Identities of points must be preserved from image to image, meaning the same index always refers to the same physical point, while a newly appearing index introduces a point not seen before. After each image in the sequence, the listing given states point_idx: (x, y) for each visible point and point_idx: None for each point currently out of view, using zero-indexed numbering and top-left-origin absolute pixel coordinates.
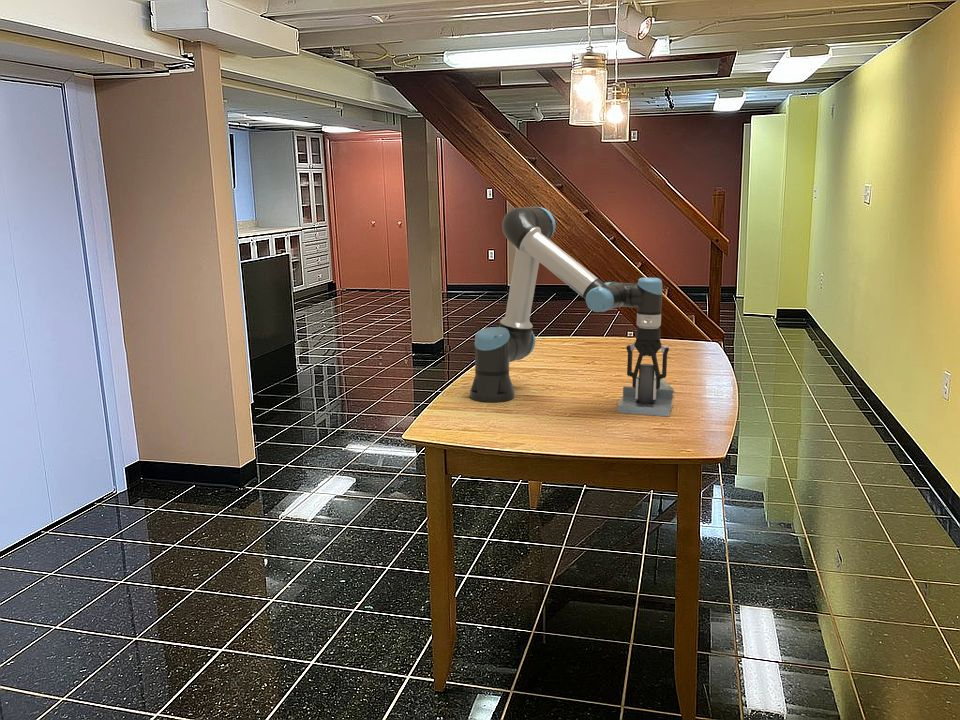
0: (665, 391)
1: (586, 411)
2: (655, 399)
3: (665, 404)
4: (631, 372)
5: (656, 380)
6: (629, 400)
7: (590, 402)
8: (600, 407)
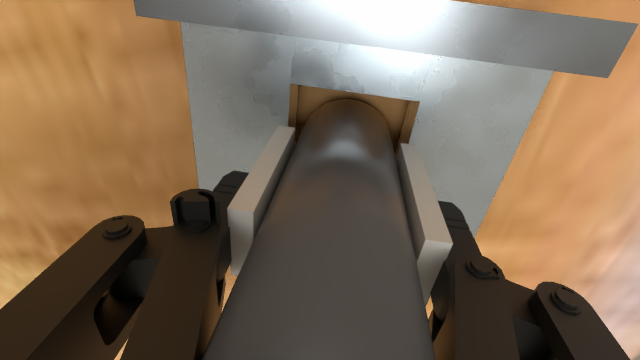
0: (529, 66)
1: (90, 200)
2: (419, 83)
3: (460, 199)
4: (144, 283)
5: (431, 286)
6: (245, 135)
7: (20, 22)
8: (117, 127)
